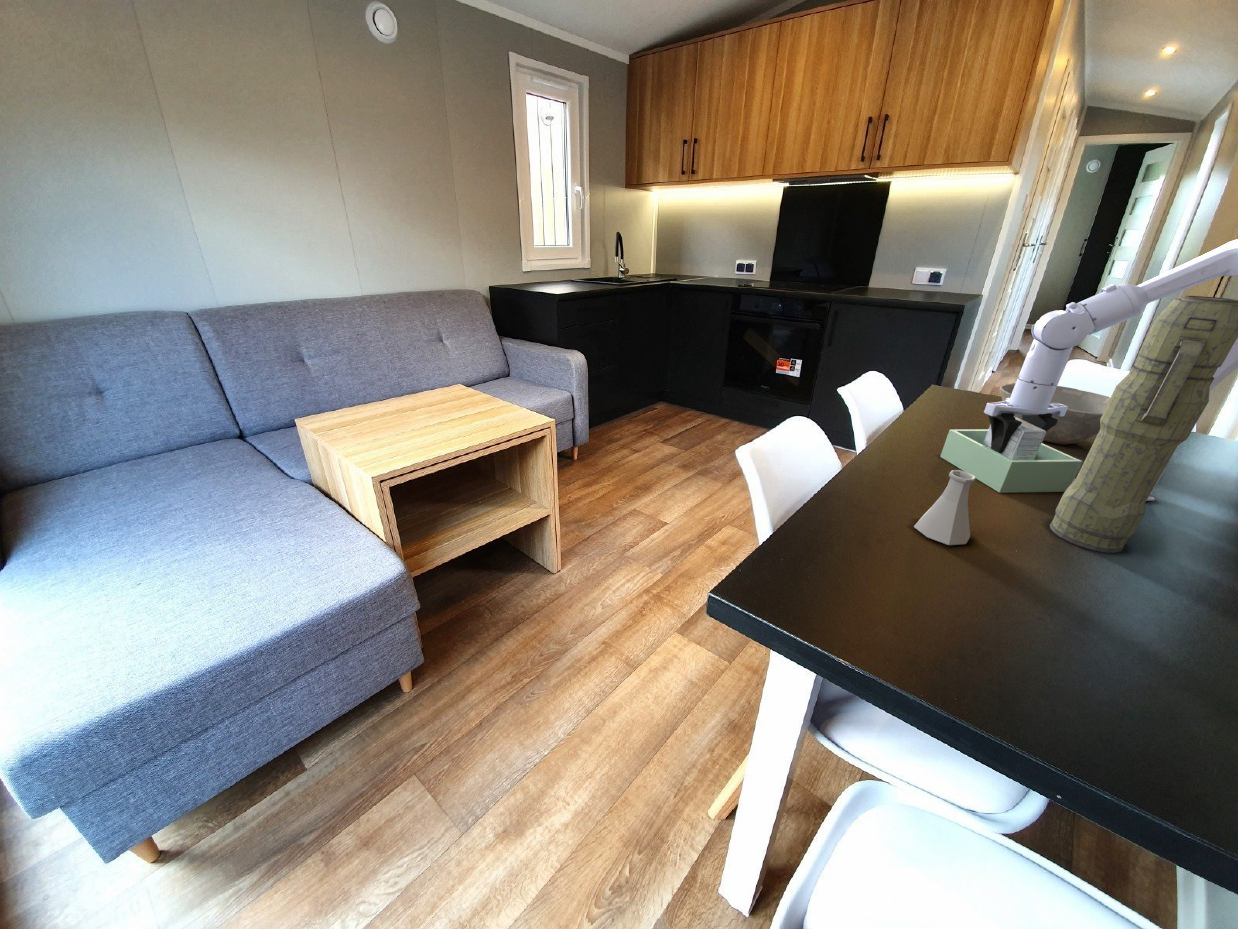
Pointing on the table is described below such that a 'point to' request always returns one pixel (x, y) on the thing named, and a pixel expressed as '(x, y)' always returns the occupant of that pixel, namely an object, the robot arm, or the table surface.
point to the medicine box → (1021, 442)
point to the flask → (949, 512)
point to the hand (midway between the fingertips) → (1008, 450)
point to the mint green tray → (1009, 464)
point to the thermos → (1147, 422)
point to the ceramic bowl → (1071, 414)
